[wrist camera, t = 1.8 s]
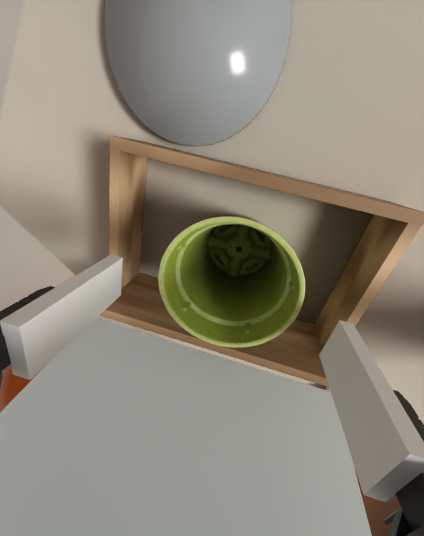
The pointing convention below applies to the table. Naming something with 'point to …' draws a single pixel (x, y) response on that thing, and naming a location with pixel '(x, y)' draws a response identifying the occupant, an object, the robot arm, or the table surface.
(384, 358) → the table surface
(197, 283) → the plant pot
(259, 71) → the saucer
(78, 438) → the lid
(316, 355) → the frame
